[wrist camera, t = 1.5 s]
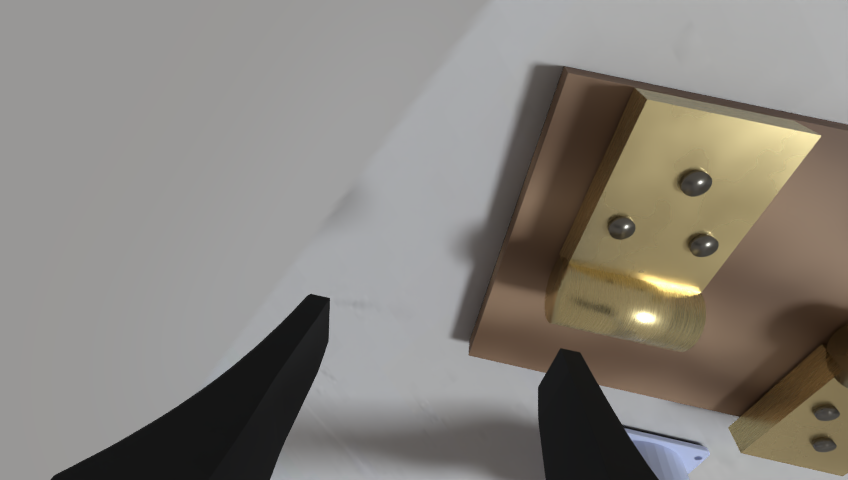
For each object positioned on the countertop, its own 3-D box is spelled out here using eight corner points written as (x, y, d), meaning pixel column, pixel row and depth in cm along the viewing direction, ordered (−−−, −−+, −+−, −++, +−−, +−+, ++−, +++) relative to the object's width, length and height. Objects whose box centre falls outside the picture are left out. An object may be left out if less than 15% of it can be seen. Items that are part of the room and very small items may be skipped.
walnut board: (840, 424, 26) (854, 442, 25) (469, 340, 26) (468, 355, 25) (1168, 190, 16) (1211, 206, 15) (564, 66, 17) (568, 73, 16)
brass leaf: (654, 316, 21) (676, 366, 19) (542, 291, 21) (548, 337, 19) (793, 120, 15) (855, 153, 13) (634, 87, 15) (662, 113, 13)
